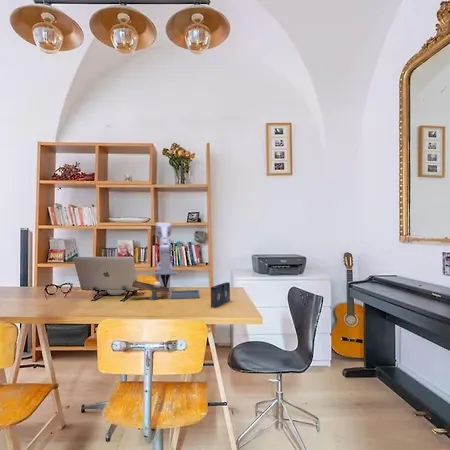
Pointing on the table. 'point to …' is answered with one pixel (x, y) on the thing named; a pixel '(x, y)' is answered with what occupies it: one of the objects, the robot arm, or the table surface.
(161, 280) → the robot arm
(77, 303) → the table surface
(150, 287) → the lever
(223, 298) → the vhs cassette tape
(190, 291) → the bin
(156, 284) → the ball
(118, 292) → the teacup
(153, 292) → the lever stand
